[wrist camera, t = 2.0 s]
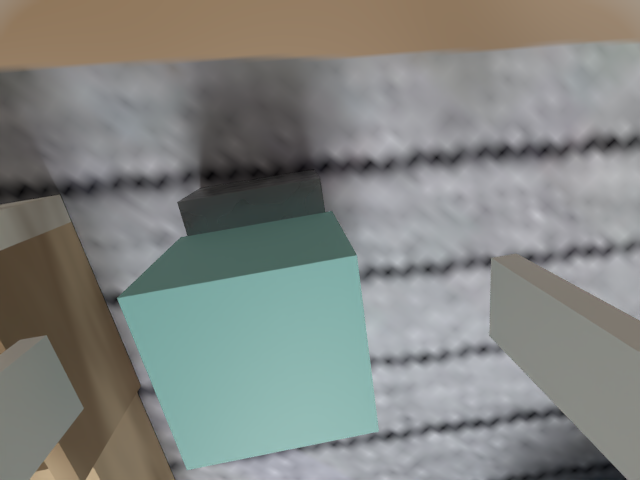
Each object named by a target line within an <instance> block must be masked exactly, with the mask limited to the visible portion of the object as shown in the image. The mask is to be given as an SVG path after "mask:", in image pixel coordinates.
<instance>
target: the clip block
mask: <svg viewBox="0 0 640 480" xmlns="http://www.w3.org/2000/svg"><path fill="white" fill-rule="evenodd" d="M117 299H118V302H119V304H120V307H121V309H122V312H123V314H124V317H125V319H126V322H127V324H128V326H129V329H130V331H131V334H132V336H133V339H134V341H135V344H136V346H137V349H138V351H139V353H140V356H141V358H142V361H143V363H144V366H145V368H146V371H147V373H148V376H149V378H150V380H151V383H152V385H153V388H154V390H155V393H156V395H157V398H158V400H159V403H160V405H161V407H162V410H163V412H164V415H165V417H166V420H167V422H168V425H169V427H170V430H171V432H172V434H173V437H174V439H175V442H176V444H177V447H178V449H179V452H180V454H181V457H182V459H183V461H184V464H185V466H186V469H187V470H190V469H195V468H200V467H205V466H210V465H215V464H220V463H225V462H230V461H235V460H240V459H245V458H250V457H255V456H260V455H264V454H269V453H274V452H279V451H284V450H289V449H294V448H299V447H304V446H309V445H314V444H319V443H324V442H329V441H334V440H339V439H344V438H349V437H354V436H359V435H364V434H369V433H374V432H378V431H379V429H378V421H377V413H376V405H375V397H374V389H373V381H372V373H371V365H370V357H369V349H368V341H367V333H366V325H365V317H364V309H363V301H362V293H361V285H360V277H359V269H358V261H357V255H356V253H355V251H354V249H353V248H352V246H351V244H350V242H349V241H348V239H347V237H346V235H345V234H344V232H343V230H342V228H341V226H340V225H339V223H338V221H337V219H336V218H335V216H334V214H333V212H332V211H330V212H324V213H318V214H313V215H307V216H301V217H295V218H290V219H284V220H278V221H272V222H267V223H261V224H255V225H249V226H243V227H238V228H232V229H226V230H220V231H215V232H209V233H203V234H197V235H192V236H186V237H181V238H180V239H179V240H177V241H176V242H175V243H174V244H173V245H172V246H171V247H170V248H169V249H168V250H167V251H166V252H165V253H164V254H163V255H162V256H161V257H160V258H159V259H158V260H157V261H155V262H154V263H153V264H152V265H151V266H150V267H149V268H148V269H147V270H146V271H145V272H144V273H143V274H142V275H141V276H140V277H139V278H138V279H137V280H136V281H135V282H134V283H132V284H131V285H130V286H129V287H128V288H127V289H126V290H125V291H124V292H123V293H122V294H121V295H120V296H119V297H118V298H117Z"/></svg>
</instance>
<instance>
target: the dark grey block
mask: <svg viewBox="0 0 640 480" xmlns="http://www.w3.org/2000/svg"><path fill="white" fill-rule="evenodd" d="M177 203H178V206H179V209H180V212H181V216H182V219H183V222H184V226H185V229H186V232H187V235H188V236H192V235H197V234H203V233H209V232H215V231H220V230H226V229H232V228H238V227H243V226H249V225H255V224H261V223H267V222H272V221H278V220H284V219H290V218H295V217H301V216H307V215H313V214H318V213H324V212H325V208H324V201H323V195H322V188H321V182H320V178H319V176H318V175H317V173H316V172H315V171H314V169H312V170H306V171H300V172H294V173H289V174H283V175H277V176H271V177H265V178H259V179H253V180H247V181H241V182H235V183H229V184H223V185H217V186H211V187H205V188H200V189H198V190H197V191H195V192H193V193H192V194H190V195H188V196H187V197H185V198H183V199H182V200H180V201H179V202H177Z"/></svg>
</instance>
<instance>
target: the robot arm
mask: <svg viewBox="0 0 640 480" xmlns="http://www.w3.org/2000/svg"><path fill="white" fill-rule="evenodd" d="M489 336H490V337H491V338H492V339H493V340H494V341H495V342H496V343H497V344H498V345H499V346H500V347H501V348H502V350H503V351H504V352H505V353H506V354H507V355H508V356H509V357H510V358H511V359H512V360H513V361H514V362H515V363H516V364H517V365H518V366H519V367H520V368H521V369H522V370H523V371H524V372H525V373H526V375H527V376H528V377H529V378H530V379H531V380H532V381H533V382H534V383H535V384H536V385H537V386H538V387H539V388H540V389H541V390H542V391H543V392H544V393H545V394H546V395H547V396H548V397H549V398H550V400H551V401H552V402H553V403H554V404H555V405H556V406H557V407H558V408H559V409H560V410H561V411H562V412H563V413H564V414H565V415H566V416H567V417H568V418H569V419H570V420H571V421H572V422H573V423H574V425H575V426H576V427H577V428H578V429H579V430H580V431H581V432H582V433H583V434H584V435H585V436H586V437H587V438H588V439H589V440H590V441H591V442H592V443H593V444H594V445H595V446H596V447H597V448H598V450H599V451H600V452H601V453H602V454H603V455H604V456H605V457H606V458H607V459H608V460H609V461H610V462H611V463H612V464H613V465H614V466H615V467H616V468H617V469H618V470H619V471H620V472H621V474H622V475H623V476H624V477H625V478H626V479H627V480H640V321H639V320H637V319H636V318H634V317H632V316H630V315H628V314H626V313H625V312H623V311H621V310H619V309H617V308H615V307H614V306H612V305H610V304H608V303H606V302H604V301H602V300H601V299H599V298H597V297H595V296H593V295H591V294H590V293H588V292H586V291H584V290H582V289H580V288H579V287H577V286H575V285H573V284H571V283H569V282H568V281H566V280H564V279H562V278H560V277H558V276H557V275H555V274H553V273H551V272H549V271H547V270H545V269H544V268H542V267H540V266H538V265H536V264H534V263H533V262H531V261H529V260H527V259H525V258H523V257H522V256H520V255H518V254H511V255H506V256H500V257H494V258H491V289H490V333H489ZM83 409H84V408H83V406H82V404H81V402H80V400H79V398H78V396H77V394H76V392H75V390H74V388H73V386H72V384H71V382H70V380H69V378H68V376H67V374H66V372H65V370H64V368H63V366H62V364H61V363H60V361H59V359H58V357H57V355H56V353H55V351H54V349H53V347H52V345H51V343H50V341H49V339H48V337H47V335H45V336H39V337H33V338H27V339H22V340H19V341H18V342H16V343H15V344H14V345H12V346H11V347H10V348H8V349H7V350H6V351H4V352H3V353H2V354H0V480H30V478H31V477H32V476H33V474H34V473H35V472H36V470H37V469H38V468H39V466H40V465H41V464H42V463H43V461H44V460H45V459H46V457H47V456H48V455H49V453H50V452H51V451H52V450H53V448H54V447H55V446H56V444H57V443H58V442H59V440H60V439H61V438H62V436H63V435H64V434H65V433H66V431H67V430H68V429H69V427H70V426H71V425H72V423H73V422H74V421H75V419H76V418H77V417H78V416H79V414H80V413H81V412H82V410H83Z"/></svg>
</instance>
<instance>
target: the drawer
mask: <svg viewBox="0 0 640 480" xmlns="http://www.w3.org/2000/svg"><path fill="white" fill-rule="evenodd" d="M45 335H47V337H48V339H49V341H50V343H51V345H52V347H53V349H54V351H55V353H56V355H57V357H58V359H59V361H60V363H61V364H62V366H63V368H64V370H65V372H66V374H67V376H68V378H69V380H70V382H71V384H72V386H73V388H74V390H75V392H76V394H77V396H78V398H79V400H80V402H81V404H82V406H83V408H84V409H83V410H82V412H81V413H80V414H79V416H78V417H77V418H76V419H75V421H74V422H73V423H72V425H71V426H70V427H69V429H68V430H67V431H66V433H65V434H64V435H63V436H62V438H61V439H60V440H59V442H58V443H57V444H56V446H55V447H54V448H53V450H52V451H51V452H50V453H49V455H48V456H47V457H46V459H45V460H44V461H43V463H42V464H41V465H40V466H39V468H38V469H37V470H36V472H35V473H34V474H33V476H32V477H31V478H30V480H175V479H174V476H173V474H172V472H171V470H170V467H169V465H168V463H167V460H166V458H165V456H164V453H163V451H162V449H161V446H160V444H159V442H158V439H157V437H156V435H155V432H154V430H153V428H152V425H151V423H150V421H149V418H148V416H147V414H146V411H145V409H144V407H143V405H142V402H141V400H140V398H139V395H138V393H137V391H138V390H139V388H140V386H141V385H140V383H139V381H138V378H137V376H136V373H135V371H134V369H133V366H132V364H131V362H130V359H129V357H128V355H127V352H126V350H125V347H124V345H123V343H122V340H121V338H120V336H119V333H118V331H117V329H116V326H115V324H114V321H113V319H112V317H111V314H110V312H109V310H108V307H107V305H106V303H105V300H104V298H103V295H102V293H101V291H100V288H99V286H98V284H97V281H96V279H95V276H94V274H93V272H92V269H91V267H90V265H89V262H88V260H87V258H86V255H85V253H84V250H83V248H82V246H81V243H80V241H79V239H78V236H77V234H76V232H75V229H74V227H73V224H72V222H71V220H70V217H69V215H68V213H67V210H66V208H65V206H64V203H63V201H62V198H61V196H60V195H55V196H49V197H43V198H37V199H30V200H24V201H18V202H12V203H6V204H0V354H2V353H3V352H4V351H6V350H7V349H8V348H10V347H11V346H12V345H14V344H15V343H16V342H18V341H19V340H22V339H27V338H33V337H39V336H45Z"/></svg>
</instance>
